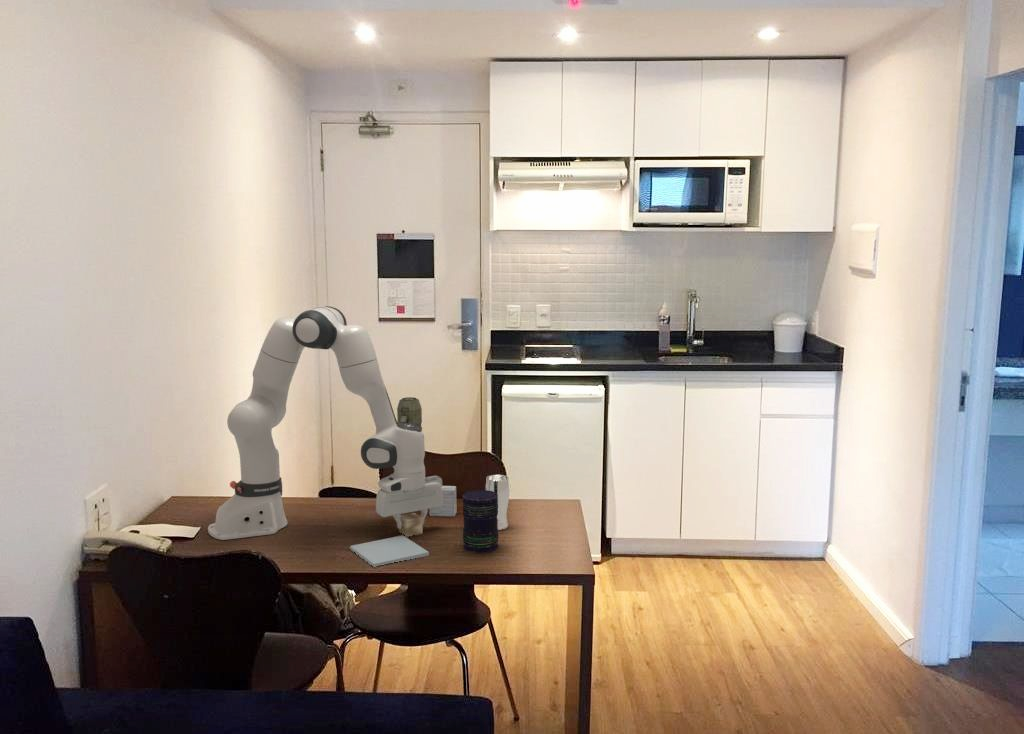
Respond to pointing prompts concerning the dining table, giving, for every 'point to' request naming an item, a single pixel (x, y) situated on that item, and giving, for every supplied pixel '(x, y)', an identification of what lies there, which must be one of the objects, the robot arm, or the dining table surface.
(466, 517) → the storage jar
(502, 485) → the beer glass
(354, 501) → the dining table surface
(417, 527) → the birch cube
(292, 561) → the dining table surface
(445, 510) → the medicine box
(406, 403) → the thermos
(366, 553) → the mat
